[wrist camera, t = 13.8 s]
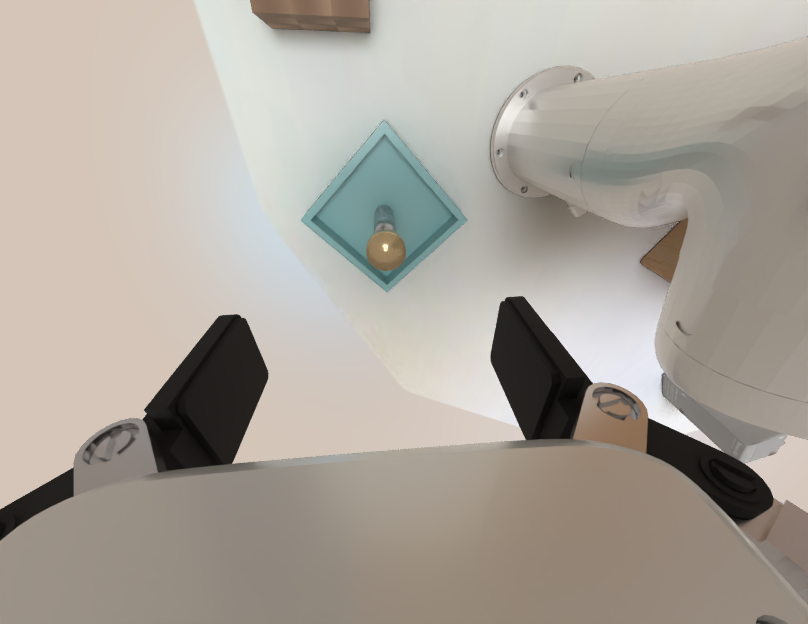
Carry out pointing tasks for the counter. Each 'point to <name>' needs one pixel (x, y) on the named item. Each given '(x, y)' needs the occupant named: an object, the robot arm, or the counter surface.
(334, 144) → the counter surface
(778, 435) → the skincare box
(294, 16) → the block
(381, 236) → the lock pin
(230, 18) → the counter surface
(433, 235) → the tray
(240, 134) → the counter surface
